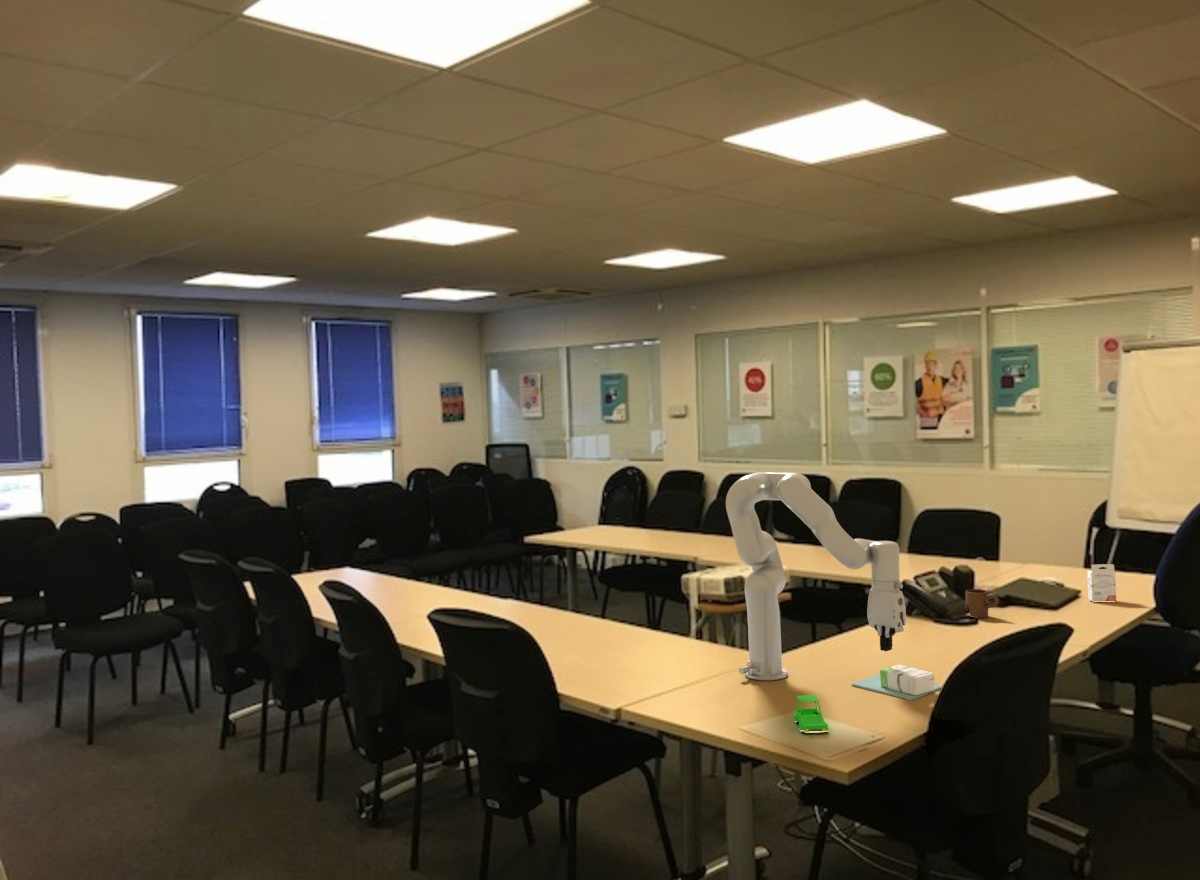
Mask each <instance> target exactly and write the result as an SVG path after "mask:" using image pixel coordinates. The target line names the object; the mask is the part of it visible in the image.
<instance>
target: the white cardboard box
mask: <svg viewBox="0 0 1200 880" xmlns="http://www.w3.org/2000/svg"><path fill="white" fill-rule="evenodd" d="M879 674H880V679H881V687H885V688H889V689H892V690H896V691H900V692H903V693H907V694H911V695H919V694H922V693H925V692H929V691H932V690H934V684H935V673H934V672H931V671H926V670H922V669H919V668H915V667H911V666H907V665H904V664H903V665H902V664H896V665H893V666H889V667H886V668H882V669H880V670H879Z"/></svg>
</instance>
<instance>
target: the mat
mask: <svg viewBox="0 0 1200 880" xmlns="http://www.w3.org/2000/svg"><path fill="white" fill-rule="evenodd" d="M852 685H853V686H852ZM851 686H852V687H855V686H857V687H856V688H859V687H860V688H859V689H863V688H865V689H864V690H867V689H868V690H867V691H871V690H872V691H871V692H875V691H877V692H876V693H879V692H881V693H880V694H883V693H885V694H884V695H887V694H888V695H887V696H891V695H892V697H895V696H896V698H899V697H900V698H899V699H903V698H904V700H908V701H914V700H916V699H919V698H921V697H924V696H926V695H929V694H931V692H932V693H934V692H937V691H938V690H941V689H940V687H941V686H942V685H940V684H935V683H934V690H932V691H929V692H925V693H922V694H919V695H911V694H907V693H903V692H900V691H896V690H892V689H889V688H885V687H881V679H880V673H879V674H876V675H873V676H870V677H868V678H863V679H862V680H859V681H856V682H853V683H851ZM928 693H929V694H928Z"/></svg>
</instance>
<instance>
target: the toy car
mask: <svg viewBox="0 0 1200 880" xmlns="http://www.w3.org/2000/svg"><path fill="white" fill-rule="evenodd" d="M803 702H804V703H805V702H814V705H815V707H813V708H812V707H810V708H809V707H808V708H807V707H806V708H802V705H803ZM799 703H800V704H799ZM798 704H799V705H800V706H799V708H798ZM817 706H818V707H817ZM794 719H795V721H797V722H799V724H798V729H799V728H800V730H804V731H805V732H809V731H827V730H829V724H828V723H827V722H826V721H825V718H824V717H823V714H822V710H821V706H820V700H819V698H818V697H817V695H816V694H815V695H814V694H812V695H796V704H795V713H794V714H793V720H794Z"/></svg>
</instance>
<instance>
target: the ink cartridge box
mask: <svg viewBox="0 0 1200 880" xmlns="http://www.w3.org/2000/svg"><path fill="white" fill-rule="evenodd" d="M1090 568H1091V570H1087V573H1086V575H1087V576H1086V577H1087V596H1088V599H1090V600H1092V601H1116V602H1117V590H1116V588H1117V587H1116V586H1117V585H1116V584H1117V582H1116V572H1115V565H1114V564H1113V563H1110V564H1109V563H1108V564H1107V563H1106V564H1104V563H1103V564H1101V563H1100V564H1091V566H1090ZM1088 599H1087V600H1088Z"/></svg>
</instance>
